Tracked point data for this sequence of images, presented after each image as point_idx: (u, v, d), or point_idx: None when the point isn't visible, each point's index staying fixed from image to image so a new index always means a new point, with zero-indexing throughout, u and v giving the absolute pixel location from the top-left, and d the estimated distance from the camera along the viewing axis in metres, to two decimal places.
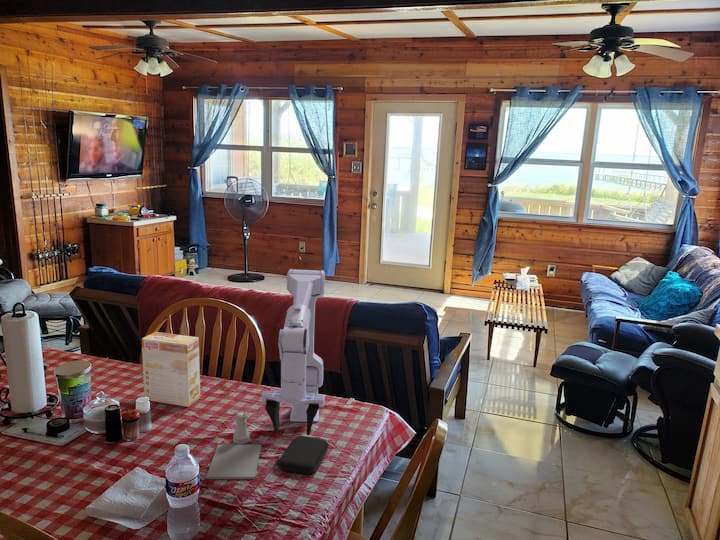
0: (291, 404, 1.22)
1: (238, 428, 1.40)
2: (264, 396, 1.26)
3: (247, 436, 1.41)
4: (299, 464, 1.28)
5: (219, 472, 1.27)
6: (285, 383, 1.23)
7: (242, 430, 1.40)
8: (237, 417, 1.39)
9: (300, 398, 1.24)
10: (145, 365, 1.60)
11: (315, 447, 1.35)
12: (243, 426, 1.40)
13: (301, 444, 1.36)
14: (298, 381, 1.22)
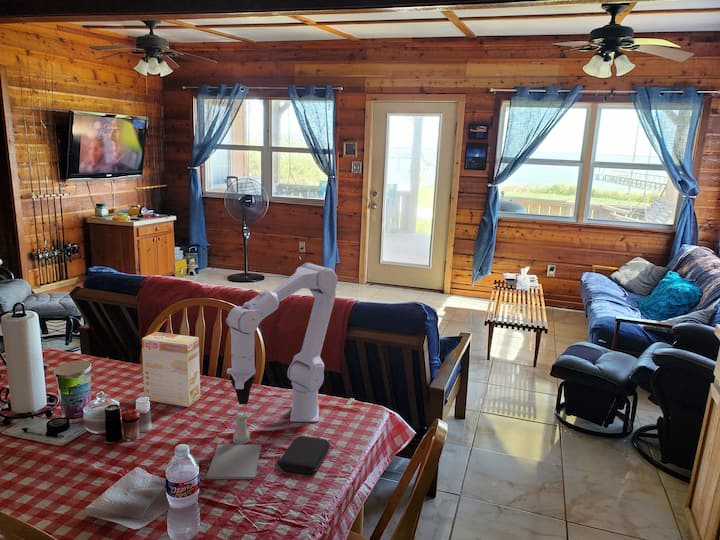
0: None
1: (238, 428, 1.40)
2: None
3: (247, 436, 1.41)
4: (299, 464, 1.28)
5: (219, 472, 1.27)
6: None
7: (242, 430, 1.40)
8: (237, 417, 1.39)
9: (234, 372, 1.36)
10: (145, 365, 1.60)
11: (316, 448, 1.35)
12: (243, 426, 1.40)
13: (302, 444, 1.36)
14: (237, 356, 1.35)
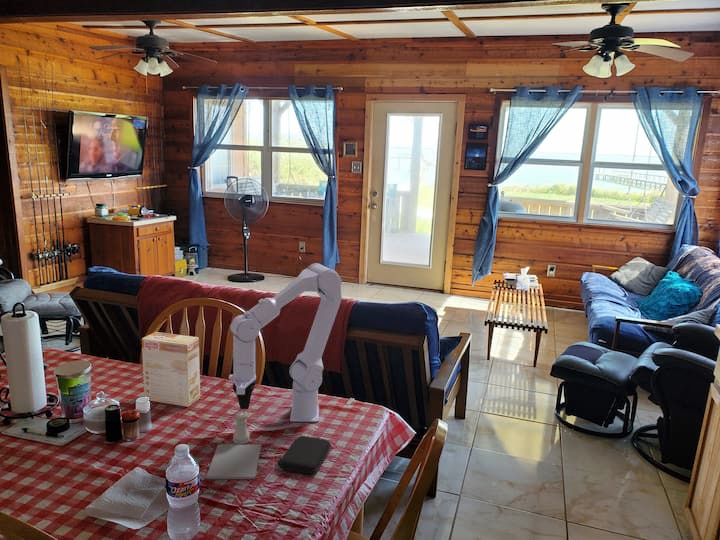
0: None
1: (238, 428, 1.40)
2: None
3: (247, 436, 1.41)
4: (300, 464, 1.28)
5: (219, 472, 1.27)
6: None
7: (242, 430, 1.40)
8: (237, 417, 1.39)
9: (235, 378, 1.42)
10: (145, 365, 1.60)
11: (317, 448, 1.35)
12: (243, 426, 1.40)
13: (303, 444, 1.36)
14: (236, 363, 1.41)
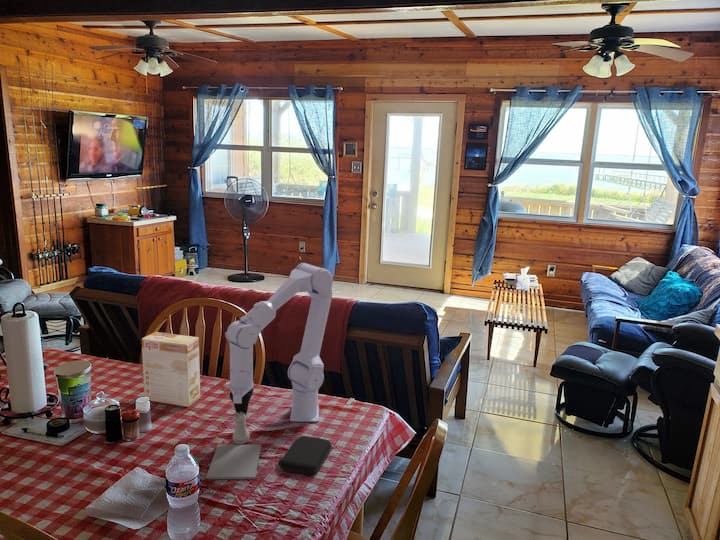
0: (225, 385, 1.39)
1: (237, 429, 1.39)
2: None
3: (247, 436, 1.40)
4: (301, 464, 1.28)
5: (219, 472, 1.27)
6: None
7: (241, 431, 1.39)
8: (236, 420, 1.38)
9: (232, 386, 1.38)
10: (145, 365, 1.60)
11: (318, 448, 1.35)
12: (242, 427, 1.39)
13: (304, 444, 1.36)
14: (235, 371, 1.36)
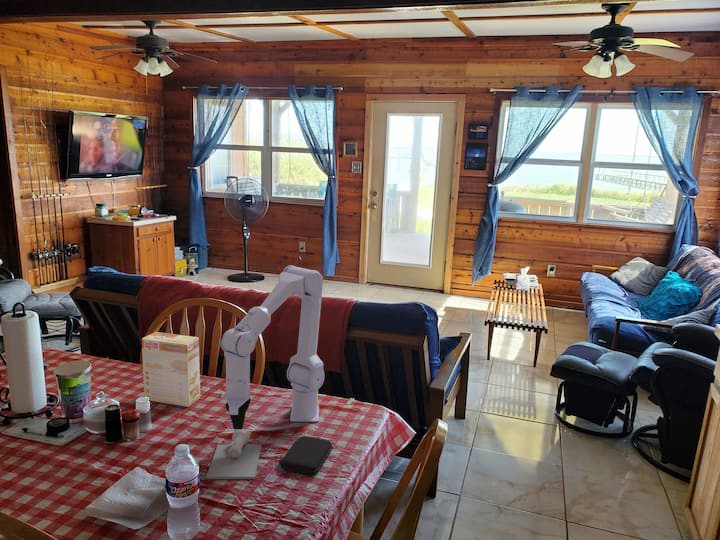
0: (221, 395, 1.33)
1: None
2: None
3: (246, 443, 1.38)
4: (301, 464, 1.28)
5: (219, 472, 1.27)
6: None
7: None
8: (230, 455, 1.33)
9: (228, 396, 1.32)
10: (145, 365, 1.60)
11: (318, 448, 1.35)
12: None
13: (305, 444, 1.36)
14: (234, 381, 1.30)
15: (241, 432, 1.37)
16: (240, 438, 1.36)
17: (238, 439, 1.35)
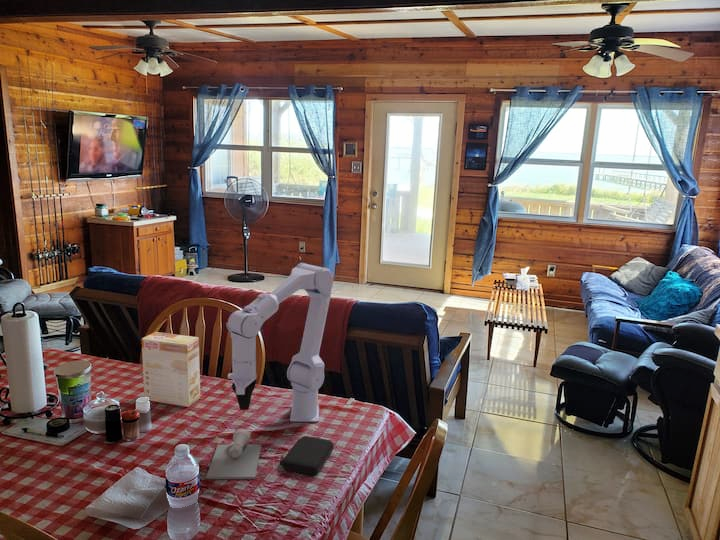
0: None
1: None
2: None
3: None
4: (302, 464, 1.28)
5: (219, 472, 1.27)
6: None
7: None
8: None
9: (235, 377, 1.34)
10: (145, 365, 1.60)
11: (319, 448, 1.35)
12: None
13: (306, 444, 1.36)
14: (239, 361, 1.32)
15: (242, 432, 1.37)
16: (242, 438, 1.36)
17: (239, 439, 1.35)
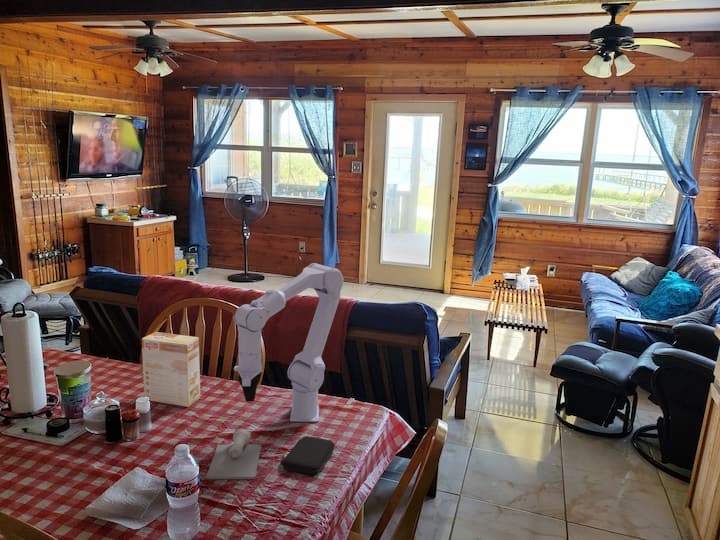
0: (234, 369, 1.39)
1: None
2: None
3: None
4: (303, 464, 1.28)
5: (219, 472, 1.27)
6: None
7: None
8: None
9: (241, 369, 1.38)
10: (145, 365, 1.60)
11: (320, 448, 1.35)
12: None
13: (307, 444, 1.36)
14: (244, 354, 1.36)
15: (242, 432, 1.37)
16: (242, 438, 1.36)
17: (239, 439, 1.35)
